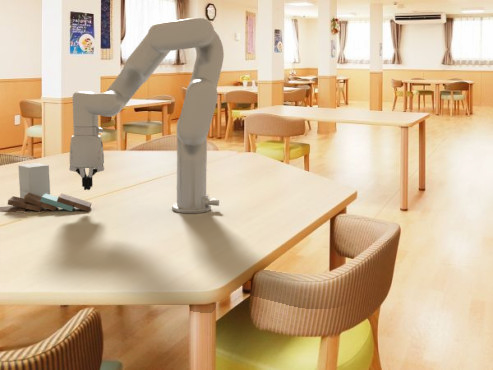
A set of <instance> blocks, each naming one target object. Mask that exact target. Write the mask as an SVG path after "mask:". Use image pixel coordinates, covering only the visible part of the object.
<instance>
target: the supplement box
mask: <svg viewBox="0 0 493 370" xmlns="http://www.w3.org/2000/svg"><path fill="white" fill-rule="evenodd" d="M17 167H18V180H19V183H18V184H19V198H24V197H25V195H27V194H28V193H32V194H35V195H38V196H41V197H42V196H43V195H44V194H45V193H46V194H49V195H51V185H50V181H51V180H50V165H48V164H44V163H41V162H33V163H25V164H18V166H17Z"/></svg>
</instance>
